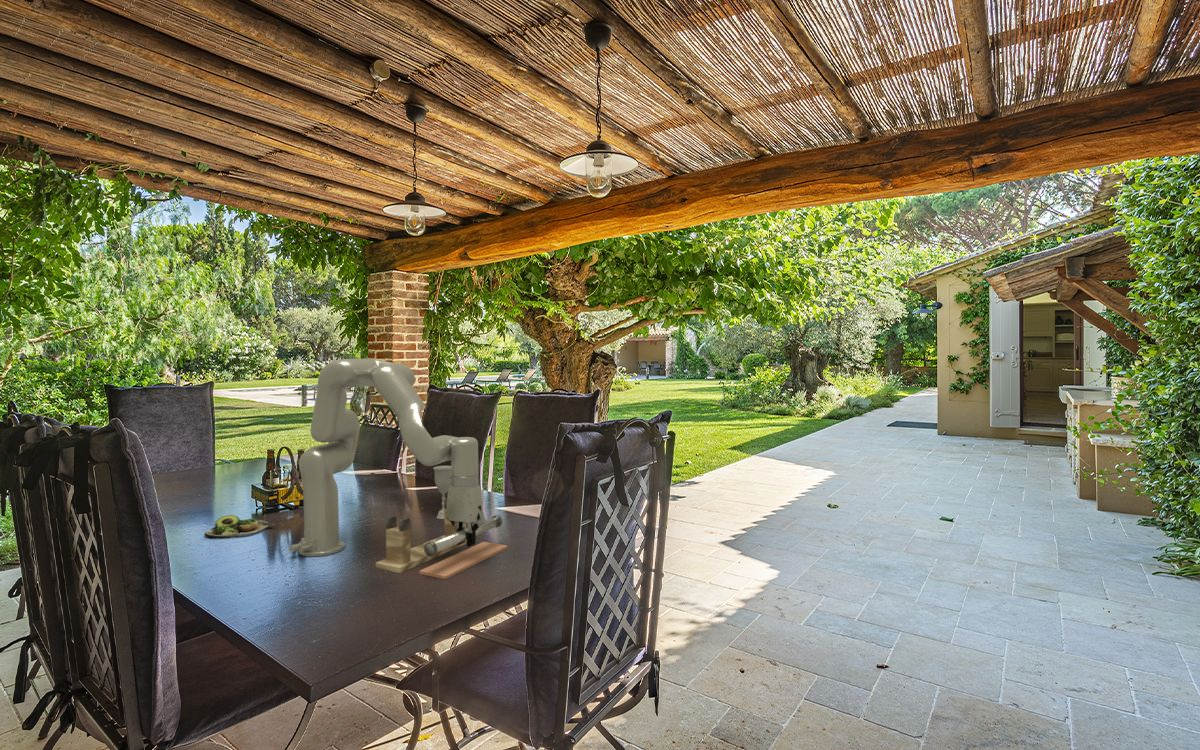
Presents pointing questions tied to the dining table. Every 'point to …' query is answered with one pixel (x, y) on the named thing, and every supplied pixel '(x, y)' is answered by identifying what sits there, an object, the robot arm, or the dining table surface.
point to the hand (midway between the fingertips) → (466, 543)
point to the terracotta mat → (463, 560)
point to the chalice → (442, 484)
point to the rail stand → (399, 545)
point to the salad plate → (236, 527)
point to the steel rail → (459, 536)
